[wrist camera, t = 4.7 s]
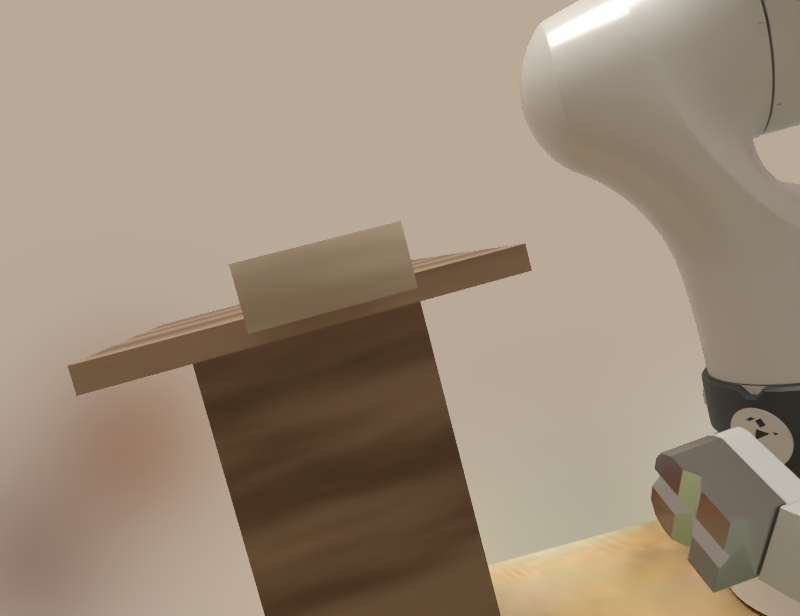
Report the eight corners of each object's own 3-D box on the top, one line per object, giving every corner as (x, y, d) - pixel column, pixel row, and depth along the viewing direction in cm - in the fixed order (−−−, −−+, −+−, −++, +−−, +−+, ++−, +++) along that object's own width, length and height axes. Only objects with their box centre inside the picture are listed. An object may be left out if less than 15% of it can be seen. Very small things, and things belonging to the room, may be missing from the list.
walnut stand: (679, 884, 27) (525, 243, 25) (282, 1072, 24) (67, 365, 22) (494, 619, 49) (402, 261, 47) (272, 701, 46) (162, 324, 44)
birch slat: (418, 287, 16) (400, 221, 16) (248, 333, 15) (228, 264, 15) (316, 284, 46) (310, 260, 45) (256, 299, 45) (249, 276, 45)
